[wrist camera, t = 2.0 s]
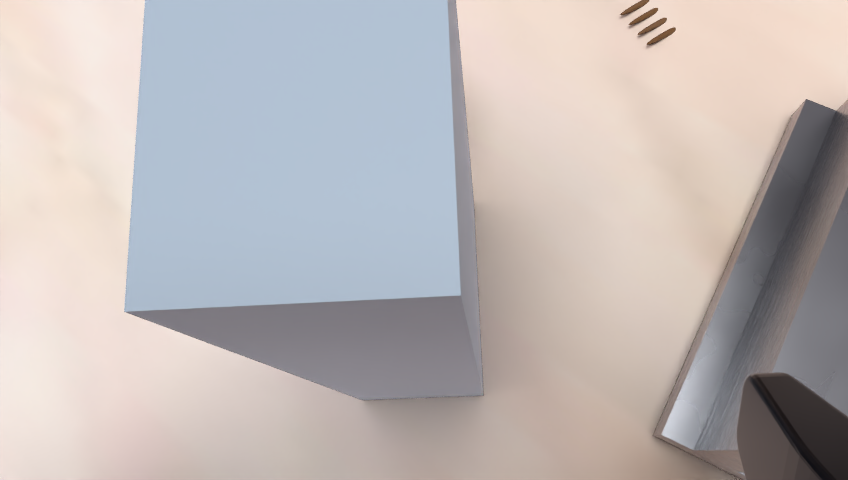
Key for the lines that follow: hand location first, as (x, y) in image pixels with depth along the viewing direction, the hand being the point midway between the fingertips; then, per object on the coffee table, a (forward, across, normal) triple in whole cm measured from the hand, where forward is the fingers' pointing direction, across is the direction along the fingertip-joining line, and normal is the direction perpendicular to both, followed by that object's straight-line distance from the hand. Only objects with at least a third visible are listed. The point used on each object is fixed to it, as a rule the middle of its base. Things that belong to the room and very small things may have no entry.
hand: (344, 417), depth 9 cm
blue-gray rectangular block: (+10, 0, +5) cm, 11 cm away
